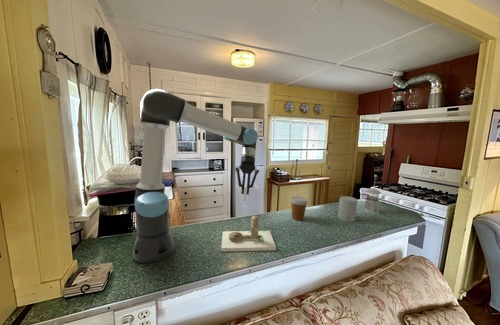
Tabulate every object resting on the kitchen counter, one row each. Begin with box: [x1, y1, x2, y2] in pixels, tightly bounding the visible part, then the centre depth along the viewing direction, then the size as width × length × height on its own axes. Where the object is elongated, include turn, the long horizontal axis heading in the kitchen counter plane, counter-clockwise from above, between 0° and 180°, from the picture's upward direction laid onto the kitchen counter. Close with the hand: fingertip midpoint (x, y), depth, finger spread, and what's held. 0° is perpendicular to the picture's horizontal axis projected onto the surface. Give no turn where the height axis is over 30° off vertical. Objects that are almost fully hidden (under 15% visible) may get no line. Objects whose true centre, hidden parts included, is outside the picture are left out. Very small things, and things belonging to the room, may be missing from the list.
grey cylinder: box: [337, 195, 358, 223], centre depth 120 cm, size 10×10×12 cm
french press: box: [362, 174, 382, 215], centre depth 130 cm, size 10×12×25 cm
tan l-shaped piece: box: [229, 215, 262, 241], centre depth 90 cm, size 15×6×10 cm, turn 89°
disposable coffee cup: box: [290, 196, 308, 222], centre depth 117 cm, size 10×10×12 cm
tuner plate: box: [220, 230, 277, 252], centre depth 91 cm, size 23×14×2 cm, turn 95°
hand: (244, 200), depth 103 cm, fingers closed
